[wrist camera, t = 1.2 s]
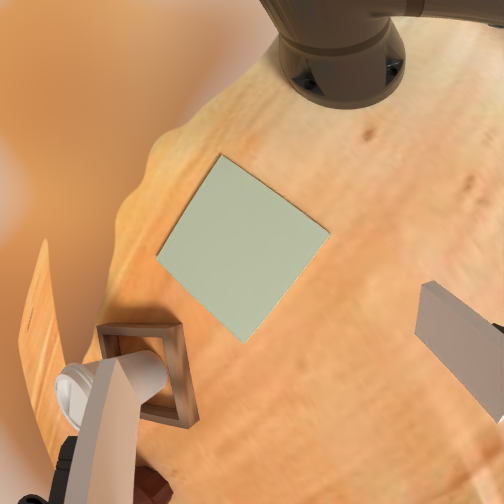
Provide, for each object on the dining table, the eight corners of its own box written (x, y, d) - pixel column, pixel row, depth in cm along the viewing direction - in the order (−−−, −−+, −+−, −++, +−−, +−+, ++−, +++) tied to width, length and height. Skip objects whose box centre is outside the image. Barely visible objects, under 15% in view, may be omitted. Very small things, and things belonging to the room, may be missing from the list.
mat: (158, 259, 41) (155, 259, 40) (223, 156, 37) (221, 154, 37) (245, 342, 36) (243, 343, 36) (330, 234, 33) (330, 233, 32)
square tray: (110, 322, 45) (96, 326, 42) (182, 323, 40) (168, 328, 37) (127, 405, 45) (115, 411, 42) (199, 419, 39) (188, 429, 36)
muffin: (181, 512, 42) (151, 541, 33) (136, 490, 46) (105, 513, 37) (175, 473, 42) (140, 504, 32) (127, 450, 46) (90, 473, 36)
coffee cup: (147, 327, 42) (64, 352, 28) (188, 381, 40) (112, 427, 26) (119, 360, 45) (44, 387, 31) (154, 408, 42) (84, 449, 28)
